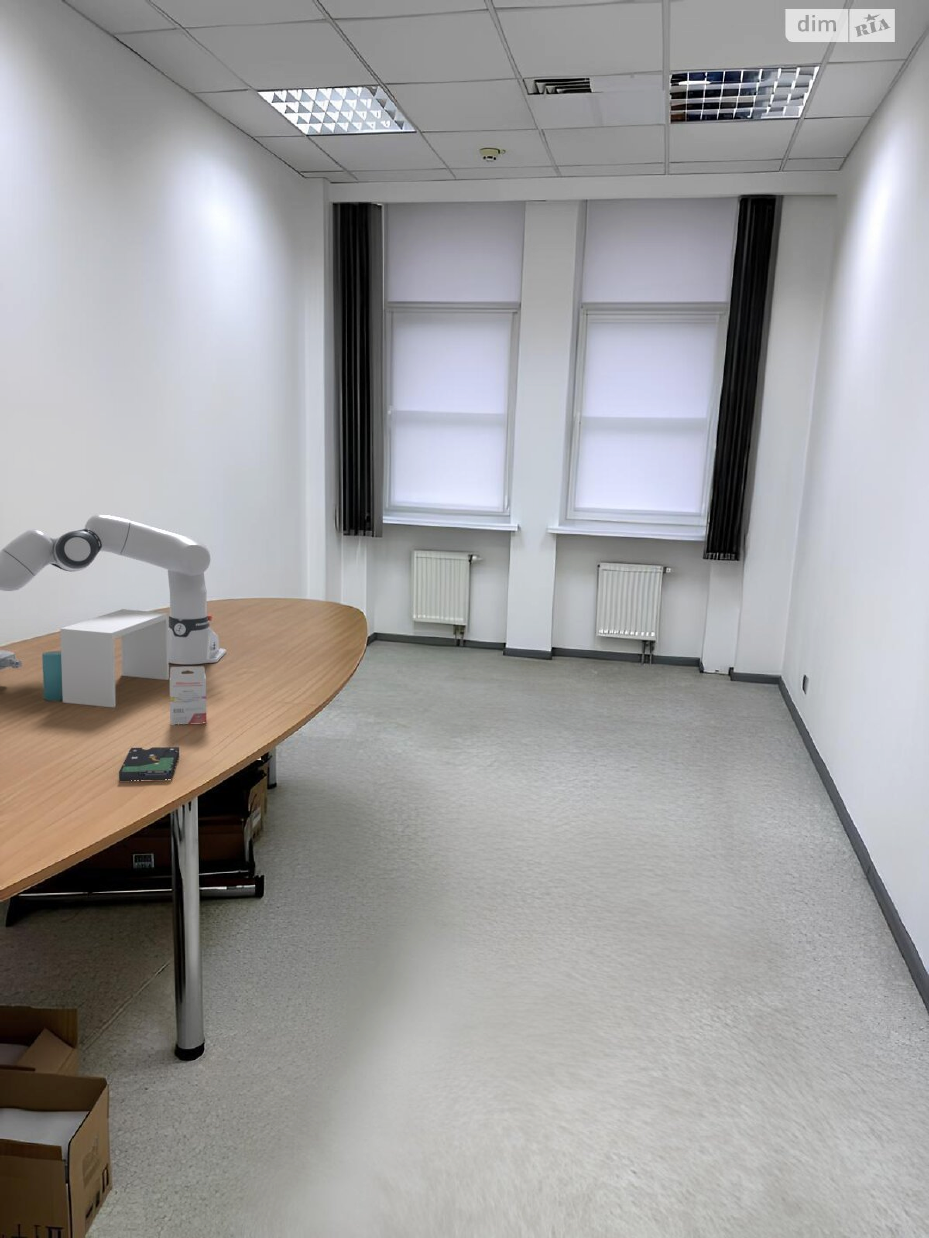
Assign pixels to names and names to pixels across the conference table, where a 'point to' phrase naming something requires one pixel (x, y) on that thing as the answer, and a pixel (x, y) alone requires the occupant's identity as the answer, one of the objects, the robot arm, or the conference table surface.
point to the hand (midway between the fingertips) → (8, 668)
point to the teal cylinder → (52, 676)
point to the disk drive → (149, 764)
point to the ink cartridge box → (187, 695)
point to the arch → (112, 654)
